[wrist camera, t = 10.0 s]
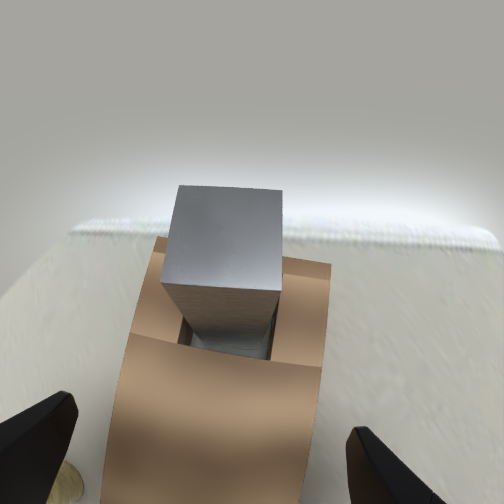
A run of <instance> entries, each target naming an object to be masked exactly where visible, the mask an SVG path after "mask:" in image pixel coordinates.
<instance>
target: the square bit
mask: <svg viewBox="0 0 504 504" xmlns="http://www.w3.org/2000/svg"><path fill="white" fill-rule="evenodd" d="M160 283H161V284H162V286H163V287H164V289H165V290H166V292H167V293H168V295H169V296H170V298H171V299H172V301H173V302H174V303H175V305H176V306H177V308H178V309H179V311H180V312H181V313H182V315H183V316H184V318H185V319H186V321H187V322H188V323H189V325H190V326H191V327H192V329H193V330H194V332H195V333H196V334H197V336H198V337H199V338H200V340H201V341H202V342H203V344H204V345H205V346H209V347H222V348H236V349H252V350H259V348H260V345H261V343H262V340H263V338H264V335H265V332H266V330H267V327H268V325H269V322H270V320H271V317H272V314H273V312H274V309H275V307H276V304H277V301H278V299H279V296H280V294H281V291H282V190H269V189H268V190H267V189H253V188H235V187H214V186H213V187H212V186H184V185H180V186H179V188H178V192H177V197H176V202H175V206H174V211H173V216H172V220H171V225H170V230H169V235H168V241H167V246H166V251H165V257H164V262H163V268H162V274H161V280H160Z"/></svg>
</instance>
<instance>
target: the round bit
mask: <svg viewBox="0 0 504 504" xmlns="http://www.w3.org/2000/svg"><path fill="white" fill-rule="evenodd" d="M83 492H84V484H83V481H82V478H81V476H80V474H79V473H78V471H77V470H76V469H75V468H74V467H73V466H72V465H71V464H69V463H68V462H66V461H64V460H63V462H62V465H61V467H60V469H59V472H58V474H57V477H56V479H55V482H54V484H53V487H52V489H51V492H50V494H49V497H48V500H47V502H46V504H70V503H72V502H74V501H76V500H78V499H79V498H80V497H81V496H82V495H83Z"/></svg>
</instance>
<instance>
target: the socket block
mask: <svg viewBox="0 0 504 504" xmlns="http://www.w3.org/2000/svg"><path fill="white" fill-rule="evenodd" d="M167 241H168V238H165V237H159V236H158V237H157V240H156V243H155V246H154V249H153V252H152V255H151V259H150V262H149V265H148V268H147V272H146V275H145V278H144V282H143V285H142V289H141V292H140V296H139V299H138V303H137V307H136V310H135V314H134V318H133V322H132V325H131V329H130V333H129V337H128V341H127V346H126V350H125V354H124V358H123V363H122V367H121V372H120V377H119V381H118V386H117V391H116V396H115V401H114V407H113V412H112V418H111V423H110V429H109V436H108V442H107V449H106V456H105V463H104V471H103V480H102V489H101V500H100V504H299V500H300V495H301V491H302V486H303V481H304V477H305V472H306V466H307V461H308V456H309V451H310V445H311V439H312V433H313V427H314V421H315V415H316V408H317V402H318V395H319V387H320V380H321V372H322V364H323V355H324V346H325V337H326V327H327V316H328V305H329V292H330V278H331V264H327V263H321V262H315V261H309V260H302V259H296V258H290V257H284V256H282V291H281V294H280V296H279V299H278V301H277V304H276V307H275V309H274V312H273V318H272V325H271V332H270V338H269V345H268V351H267V357H266V360H262V359H256V358H249V357H243V356H237V355H232V354H226V353H221V352H215V351H210V350H205V349H200V348H195V347H190V344H191V339H192V334H193V329H192V327H191V326H190V325H189V323H188V322H187V321H186V319H185V318H184V316H183V315H182V313H181V312H180V311H179V309H178V308H177V306H176V305H175V303H174V302H173V301H172V299H171V298H170V296H169V295H168V293H167V292H166V290H165V289H164V287H163V286H162V284H161V283H160V280H161V274H162V268H163V262H164V257H165V251H166V246H167Z"/></svg>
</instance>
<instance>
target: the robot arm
mask: <svg viewBox="0 0 504 504" xmlns="http://www.w3.org/2000/svg"><path fill="white" fill-rule="evenodd" d="M77 418H78V408H77V405H76V403H75V400H74V397H73V395H72V394H71V393H68V392H65V391H59V392H57V393H55V394H53V395H52V396H50V397H48V398H46V399H44V400H43V401H41V402H39V403H37V404H35V405H33V406H32V407H30V408H28V409H26V410H24V411H22V412H21V413H19V414H17V415H15V416H13V417H11V418H10V419H8V420H6V421H4V422H2V423H0V504H46V502H47V500H48V497H49V494H50V492H51V489H52V487H53V484H54V482H55V479H56V477H57V474H58V472H59V469H60V467H61V465H62V462H63V460H64V458H65V455H66V453H67V450H68V447H69V444H70V440H71V437H72V434H73V431H74V427H75V424H76V421H77ZM346 460H347V475H348V488H349V494H350V499H351V504H447V503H445V502H444V501H443V500H442V499H441V498H440V497H439V496H438V495H437V494H435V493H433V491H432V490H431V489H430V488H429V487H428V486H427V485H426V484H425V483H424V482H423V481H422V480H421V479H420V478H419V477H417V476H416V475H415V474H414V473H413V472H412V471H411V470H410V469H409V468H408V467H407V466H406V465H405V464H404V463H403V462H402V461H401V460H400V459H399V458H398V457H397V456H396V455H395V454H394V453H393V452H392V451H391V450H390V449H389V448H388V447H387V446H386V445H385V444H384V443H383V442H382V441H381V440H380V439H379V438H378V437H377V436H376V435H375V434H374V433H373V432H372V431H371V430H370V429H369V428H368V427H366V426H358V427H354V428H353V429H352V431H351V433H350V436H349V438H348V440H347V442H346Z"/></svg>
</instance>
